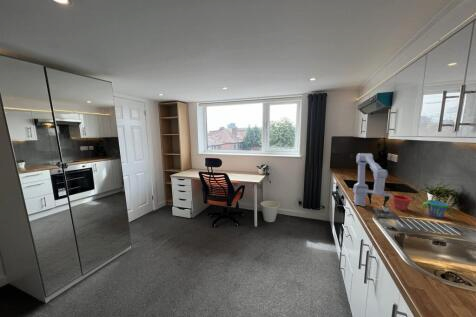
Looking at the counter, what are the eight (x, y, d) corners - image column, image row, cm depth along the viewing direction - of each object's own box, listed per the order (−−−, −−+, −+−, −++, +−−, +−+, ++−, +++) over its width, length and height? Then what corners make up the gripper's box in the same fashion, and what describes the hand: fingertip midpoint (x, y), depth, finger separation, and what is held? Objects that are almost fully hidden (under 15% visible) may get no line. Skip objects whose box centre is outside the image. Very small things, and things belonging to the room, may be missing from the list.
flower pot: (406, 213, 139) (408, 200, 138) (389, 208, 148) (390, 196, 147) (411, 209, 145) (412, 197, 144) (393, 205, 154) (395, 193, 153)
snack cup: (448, 215, 134) (450, 202, 133) (454, 221, 125) (456, 207, 124) (418, 210, 143) (420, 198, 141) (422, 216, 134) (424, 202, 133)
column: (380, 213, 140) (381, 204, 139) (386, 213, 139) (387, 205, 138) (382, 215, 136) (383, 206, 135) (389, 215, 135) (390, 207, 134)
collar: (372, 210, 145) (372, 205, 144) (390, 212, 141) (391, 207, 141) (378, 217, 134) (379, 212, 133) (398, 219, 130) (399, 214, 129)
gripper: (365, 186, 130) (364, 204, 132) (392, 190, 121) (390, 209, 123) (366, 183, 135) (365, 201, 137) (392, 187, 126) (390, 206, 128)
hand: (376, 204), depth 130 cm, fingers open, 7 cm apart
